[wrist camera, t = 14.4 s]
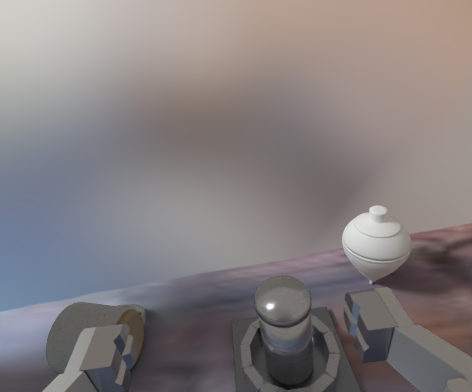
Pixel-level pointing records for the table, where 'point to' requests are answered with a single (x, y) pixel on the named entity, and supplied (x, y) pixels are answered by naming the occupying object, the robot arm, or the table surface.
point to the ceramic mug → (88, 317)
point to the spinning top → (376, 243)
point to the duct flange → (324, 359)
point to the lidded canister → (285, 328)
